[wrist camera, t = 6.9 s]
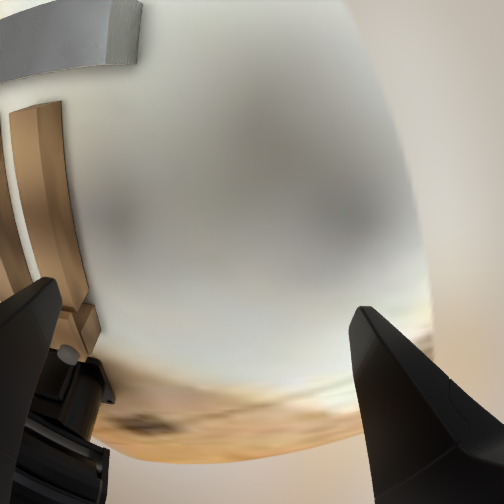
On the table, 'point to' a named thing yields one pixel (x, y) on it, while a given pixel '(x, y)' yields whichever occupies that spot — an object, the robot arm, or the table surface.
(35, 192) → the bar
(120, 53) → the grey bracket bar
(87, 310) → the base
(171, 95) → the table surface
